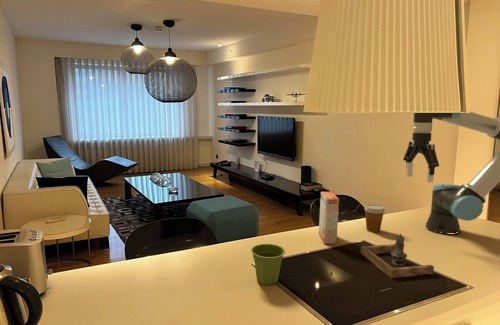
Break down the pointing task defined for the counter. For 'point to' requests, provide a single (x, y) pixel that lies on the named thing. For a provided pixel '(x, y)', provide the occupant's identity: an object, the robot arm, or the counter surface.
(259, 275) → the plant pot
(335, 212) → the cracker box
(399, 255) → the dark grey candlestick
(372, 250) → the brown u-shaped bracket
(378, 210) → the disposable coffee cup
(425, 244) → the counter surface
